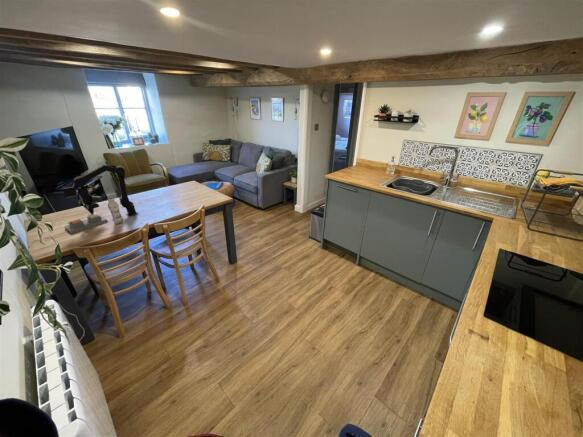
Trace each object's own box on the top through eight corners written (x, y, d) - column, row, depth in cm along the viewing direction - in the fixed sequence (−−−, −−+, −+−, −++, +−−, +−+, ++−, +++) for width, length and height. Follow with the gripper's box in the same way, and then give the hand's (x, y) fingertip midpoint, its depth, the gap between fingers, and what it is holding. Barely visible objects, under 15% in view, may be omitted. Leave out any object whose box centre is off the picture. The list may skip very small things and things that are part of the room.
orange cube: (81, 223, 169) (79, 219, 168) (73, 225, 166) (71, 221, 164) (78, 221, 171) (76, 217, 170) (71, 224, 168) (69, 219, 166)
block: (107, 221, 180) (105, 215, 177) (72, 233, 163) (69, 227, 161) (100, 217, 185) (98, 211, 183) (65, 228, 169) (62, 222, 167)
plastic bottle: (122, 220, 183) (114, 196, 173) (125, 222, 179) (117, 198, 170) (112, 222, 178) (103, 198, 169) (115, 225, 174) (106, 201, 165)
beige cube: (99, 217, 177) (97, 213, 176) (92, 220, 174) (90, 215, 173) (96, 216, 180) (94, 212, 178) (89, 218, 176) (87, 214, 175)
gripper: (103, 194, 170) (110, 213, 177) (92, 188, 179) (99, 207, 186) (84, 198, 161) (93, 218, 169) (74, 193, 170) (82, 212, 177)
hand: (92, 214), depth 175 cm, fingers closed, pressing on beige cube
